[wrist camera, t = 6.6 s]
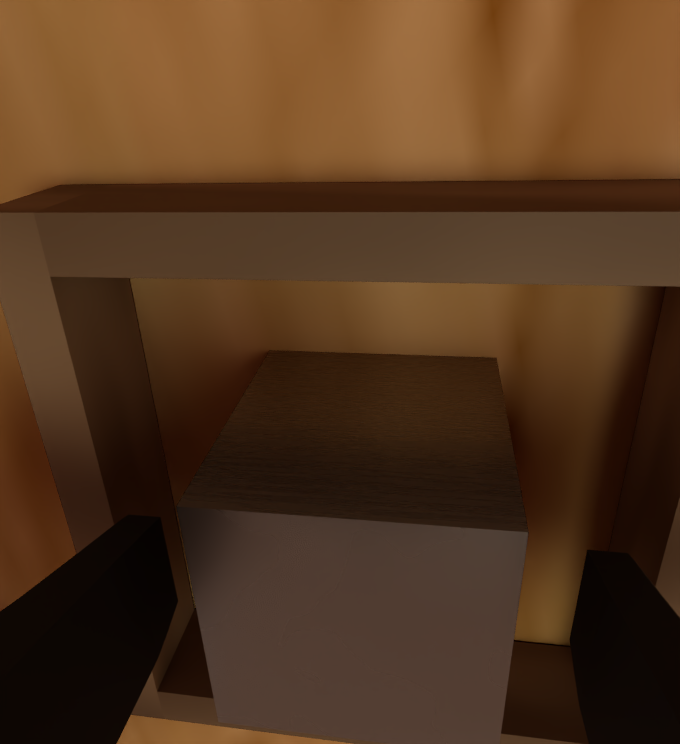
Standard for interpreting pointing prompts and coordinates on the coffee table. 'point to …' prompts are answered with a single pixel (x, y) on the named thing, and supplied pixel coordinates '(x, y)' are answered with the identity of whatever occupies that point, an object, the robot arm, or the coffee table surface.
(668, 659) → the robot arm
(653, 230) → the square frame
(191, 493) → the grey cube
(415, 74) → the coffee table surface
